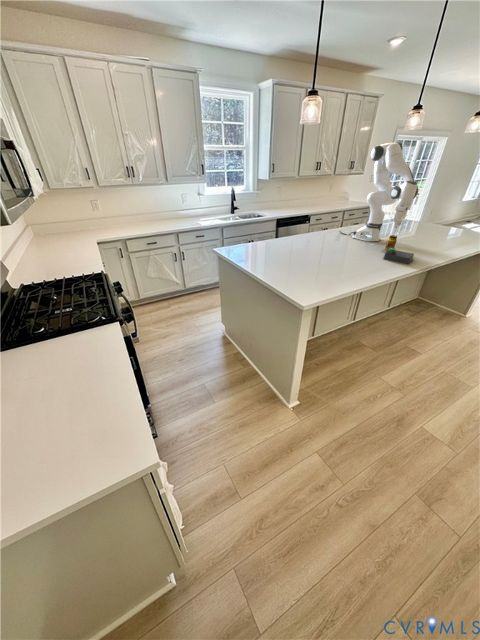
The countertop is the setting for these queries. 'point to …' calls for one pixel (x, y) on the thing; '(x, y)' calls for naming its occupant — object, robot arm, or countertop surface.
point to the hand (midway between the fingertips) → (397, 226)
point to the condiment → (391, 242)
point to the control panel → (398, 256)
